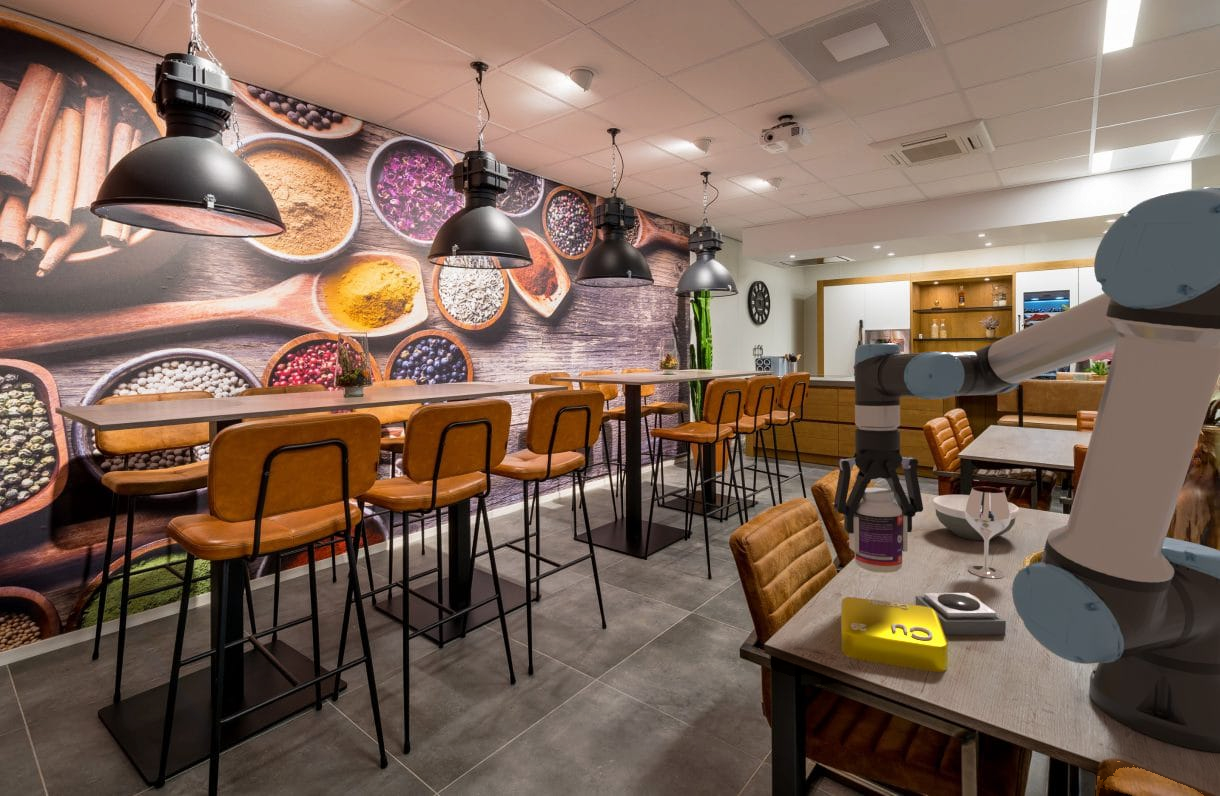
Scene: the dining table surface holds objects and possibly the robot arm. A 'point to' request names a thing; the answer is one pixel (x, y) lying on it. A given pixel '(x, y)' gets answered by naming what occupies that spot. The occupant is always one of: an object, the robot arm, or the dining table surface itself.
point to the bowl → (963, 516)
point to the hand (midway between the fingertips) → (878, 549)
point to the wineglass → (987, 521)
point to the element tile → (893, 634)
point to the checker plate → (959, 606)
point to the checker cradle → (968, 624)
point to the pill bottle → (879, 531)
